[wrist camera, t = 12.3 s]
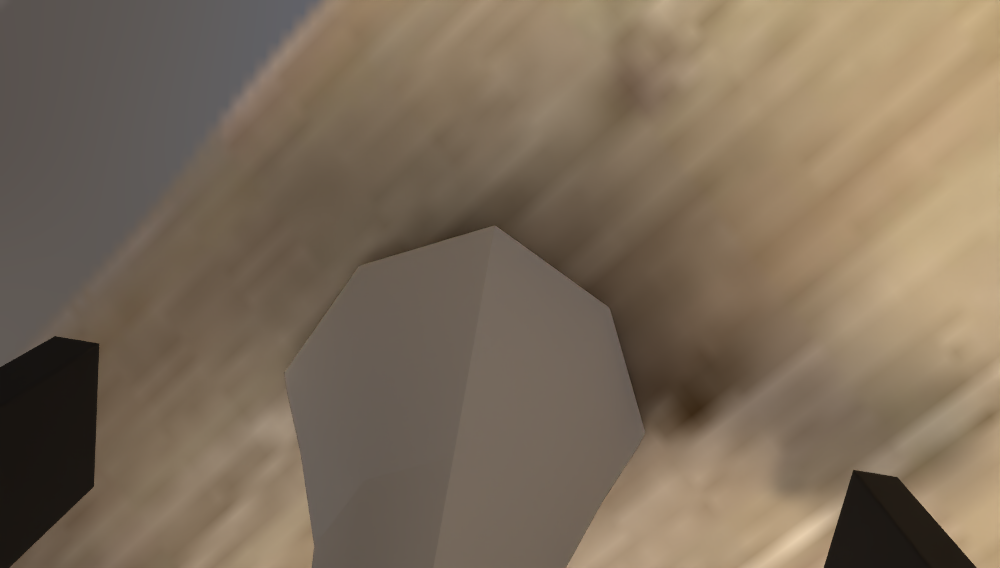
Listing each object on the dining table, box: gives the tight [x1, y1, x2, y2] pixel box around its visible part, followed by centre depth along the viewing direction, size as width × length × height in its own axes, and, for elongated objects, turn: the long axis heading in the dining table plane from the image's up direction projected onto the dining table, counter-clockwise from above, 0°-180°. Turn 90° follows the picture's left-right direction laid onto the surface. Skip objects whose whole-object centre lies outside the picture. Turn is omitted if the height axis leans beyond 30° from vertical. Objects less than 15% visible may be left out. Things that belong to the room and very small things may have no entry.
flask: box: [284, 225, 645, 568], centre depth 13 cm, size 7×7×10 cm
